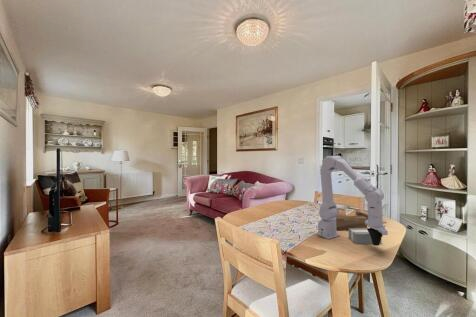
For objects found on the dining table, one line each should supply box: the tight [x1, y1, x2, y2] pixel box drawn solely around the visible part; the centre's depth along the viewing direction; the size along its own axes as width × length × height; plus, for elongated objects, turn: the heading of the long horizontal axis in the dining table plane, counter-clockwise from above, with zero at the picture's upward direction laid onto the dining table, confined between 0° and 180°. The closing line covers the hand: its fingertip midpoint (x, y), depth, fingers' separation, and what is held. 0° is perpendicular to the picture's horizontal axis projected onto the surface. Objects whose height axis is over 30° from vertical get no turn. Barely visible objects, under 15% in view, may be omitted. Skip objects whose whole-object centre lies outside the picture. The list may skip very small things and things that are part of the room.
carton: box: [348, 227, 383, 245], centre depth 107 cm, size 8×12×5 cm, turn 86°
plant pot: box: [337, 207, 347, 216], centre depth 142 cm, size 7×7×7 cm
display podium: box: [336, 215, 368, 231], centre depth 124 cm, size 5×18×7 cm, turn 86°
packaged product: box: [353, 209, 388, 224], centre depth 140 cm, size 18×5×10 cm
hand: (376, 244), depth 97 cm, fingers closed
